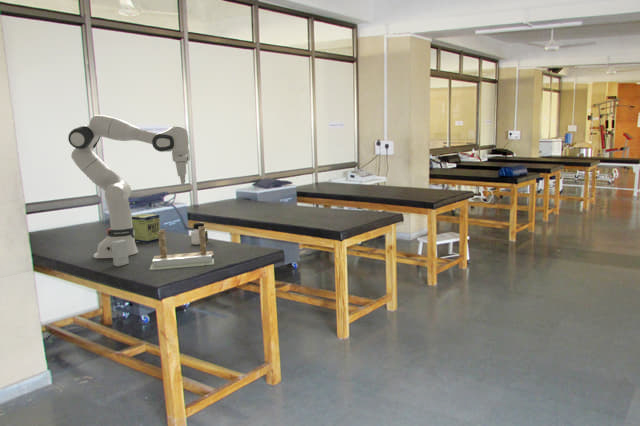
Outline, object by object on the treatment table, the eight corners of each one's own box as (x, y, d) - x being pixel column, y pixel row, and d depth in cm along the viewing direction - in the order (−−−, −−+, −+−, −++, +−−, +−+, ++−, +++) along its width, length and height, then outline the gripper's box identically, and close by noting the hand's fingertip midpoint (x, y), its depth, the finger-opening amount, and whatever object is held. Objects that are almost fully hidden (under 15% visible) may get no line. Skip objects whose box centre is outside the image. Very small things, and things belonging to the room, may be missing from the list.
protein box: (148, 243, 302) (146, 217, 299) (130, 241, 310) (128, 216, 307) (161, 239, 311) (159, 214, 308) (144, 237, 319) (141, 213, 316)
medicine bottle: (203, 244, 294) (201, 224, 292) (191, 244, 295) (190, 224, 293) (208, 241, 301) (206, 221, 299) (197, 241, 302) (195, 221, 300)
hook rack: (153, 261, 258) (150, 232, 256) (154, 257, 266) (151, 229, 264) (213, 256, 265) (211, 228, 262) (213, 252, 272) (211, 225, 270)
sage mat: (149, 270, 242) (149, 269, 242) (151, 265, 252) (151, 263, 251) (214, 264, 248) (214, 263, 248) (213, 259, 258) (213, 258, 258)
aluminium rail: (152, 267, 245) (152, 261, 245) (153, 265, 248) (152, 259, 248) (212, 261, 251) (211, 255, 251) (212, 260, 254) (211, 254, 254)
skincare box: (124, 262, 258) (122, 239, 256) (129, 264, 255) (127, 240, 253) (113, 265, 253) (110, 241, 251) (117, 266, 250) (115, 242, 248)
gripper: (175, 156, 278) (177, 182, 281) (173, 158, 259) (176, 185, 261) (187, 156, 280) (189, 181, 282) (186, 158, 260) (188, 185, 262)
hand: (183, 183), depth 271 cm, fingers open, 8 cm apart
